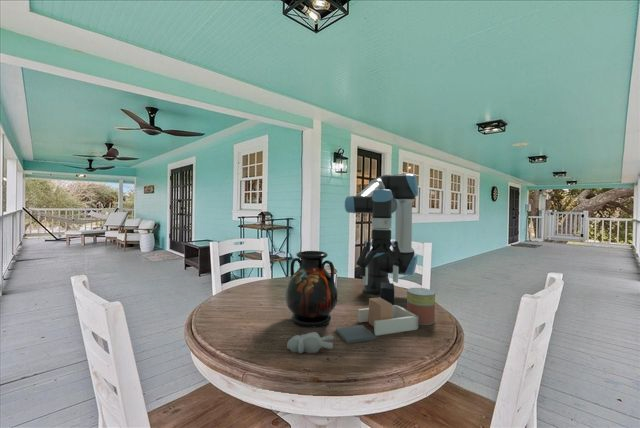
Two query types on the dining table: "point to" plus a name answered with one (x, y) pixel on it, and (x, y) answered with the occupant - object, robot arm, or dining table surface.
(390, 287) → the small box
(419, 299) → the canned food
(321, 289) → the amphora vase
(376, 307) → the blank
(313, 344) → the bunny figurine
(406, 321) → the slot rack
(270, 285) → the dining table surface
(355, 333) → the slate mat
